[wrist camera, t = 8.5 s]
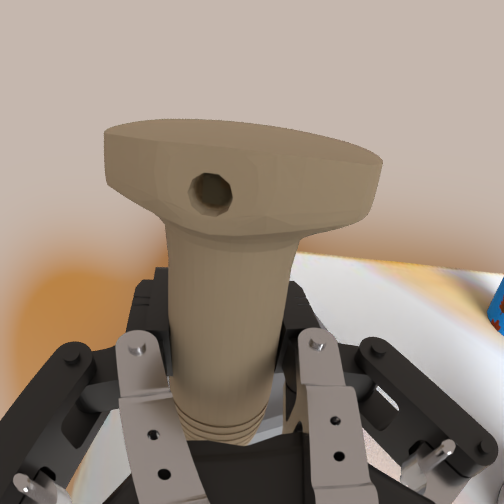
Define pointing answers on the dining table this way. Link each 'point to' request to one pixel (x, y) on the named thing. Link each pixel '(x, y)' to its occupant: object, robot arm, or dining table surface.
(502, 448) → the dining table surface
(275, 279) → the handle
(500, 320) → the thermos
